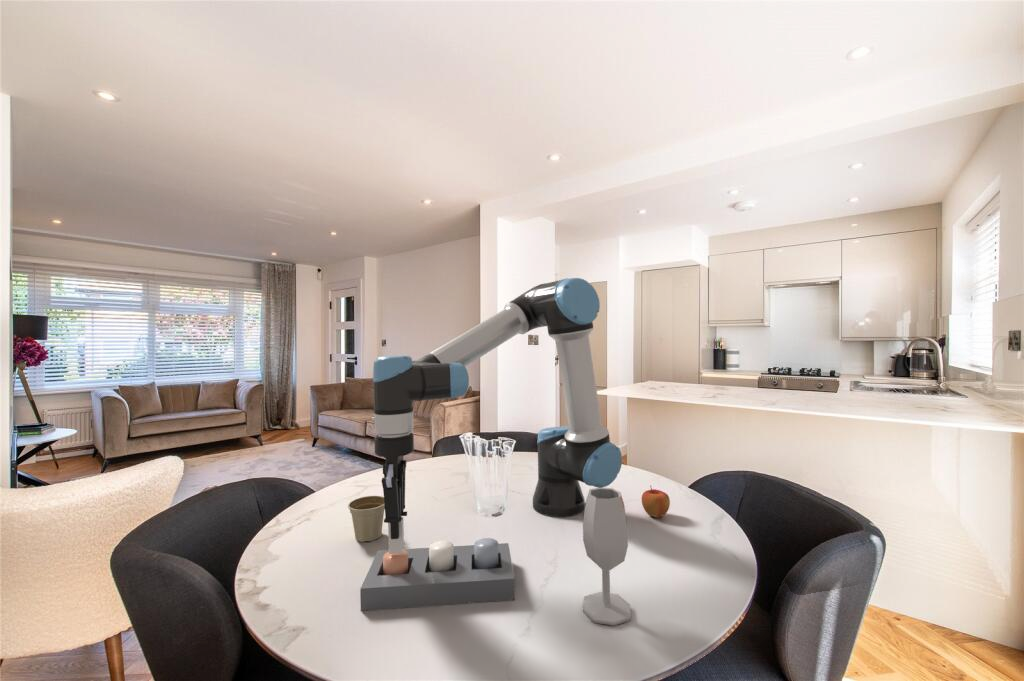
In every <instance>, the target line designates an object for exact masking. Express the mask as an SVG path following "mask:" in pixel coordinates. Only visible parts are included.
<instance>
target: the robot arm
mask: <svg viewBox="0 0 1024 681" xmlns="http://www.w3.org/2000/svg"><path fill="white" fill-rule="evenodd" d="M600 304H601V302H600V297H599V294H598V293H597V291H596V289H595V288H594V286H593V285H592V284H590V283H589V281H587V280H585V279H584V278H580V277H570V278H568V277H567V278H563V279H559V280H555V281H551V282H547V283H546V282H545V283H540V284H538V285H536V286H533V287H532V288H529V290H526V291H525V292H523V293H522V294H520V295H518V296H517V297H516V298H514V299H513V300H511V301H509V302H507V303H506V304H505V305H504V307H503V310H500V311H499V312H497V313H496V314H494V315H493V316H490V317H489V318H487V319H485V320H483V321H482V322H480V323H479V324H477V325H475V326H474V327H472V328H470V329H468V330H467V331H465V332H464V333H461V334H460V335H458V336H456V337H455V338H453V339H451V340H449V341H448V342H446V343H444V344H443V345H440V346H439V347H437V348H436V349H434V350H433V351H430V352H429V353H428V354H426V355H423V357H420V358H419V359H417V360H413V359H412V357H411V355H387V356H386V355H385V356H384V355H383V356H378V357H377V358H375V359H374V361H373V372H372V386H373V387H372V388H373V413H374V414H373V416H374V417H372V418H371V422H372V423H374V425H373V426H374V434H376V435H375V437H373V438H374V454H375V456H377V457H380V458H382V457H383V458H385V464H383V465H382V475H383V477H382V479H381V481H380V482H381V485H382V491H383V492H382V493H383V497H384V505H385V509H384V516H385V517H384V518H383V524H384V523H386V524H387V525H388V527H387V528H388V530H387V531H388V535H387V536H388V550H389V554H402V553H403V551H404V549H405V537H404V536H405V533H404V528H405V527H404V517H408V511H404V510H405V509H406V470H407V460H406V459H404V456H407V455H410V454H412V453H413V451H414V450H415V444H414V440H415V438H414V437H415V436H414V435H415V434H413V431H414V430H415V429H414V428H415V427H414V425H415V424H414V422H415V421H414V402H421V401H433V400H434V401H436V400H446V399H450V400H452V399H454V398H460V397H463V396H465V395H467V393H468V390H469V387H470V386H469V385H470V378H469V373H468V369H467V366H469V365H470V364H472V363H474V362H476V361H477V360H478V359H480V358H482V357H483V356H485V355H486V354H488V353H489V352H491V351H492V350H493V351H494V350H495V349H496V348H497V347H499V346H501V345H503V344H504V343H505V342H507V341H509V340H511V339H512V338H513V337H515V336H516V335H518V334H519V335H525V334H527V333H529V332H530V331H532V330H535V329H537V328H538V329H539V328H542V327H543V328H544V327H547V334H548V337H550V338H552V339H553V340H554V341H555V345H556V353H557V359H558V366H559V372H560V379H561V385H562V391H563V392H562V393H563V396H564V397H563V398H564V403H565V404H564V405H565V411H566V412H565V413H566V417H567V424H568V426H567V425H566V426H565V425H564V426H551V427H546V428H542V429H540V430H539V431H538V432H537V433H538V434H537V442H536V444H537V474H538V476H537V477H538V478H537V482H536V486H535V488H534V489H535V490H534V494H533V495H532V508H533V509H534V511H536V512H537V513H539V514H542V515H545V516H549V517H572V516H575V515H578V514H581V513H582V512H584V511H585V505H586V501H585V496H584V494H583V490H582V487H581V485H580V482H581V483H584V484H585V485H587V486H590V487H594V488H607V487H608V486H610V485H611V484H612V483H613V482H614V481H615V480H616V479H617V477H618V475H619V473H620V471H621V468H622V465H623V456H622V452H621V449H620V448H619V447H618V446H617V445H616V444H615V443H612V442H611V438H610V432H609V429H608V428H606V427H605V426H604V425H603V423H602V418H601V411H600V404H599V398H598V392H597V390H598V389H597V384H596V377H595V369H594V364H593V363H594V362H593V358H592V357H593V356H592V350H591V344H590V337H589V336H590V334H591V332H593V330H594V323H593V322H594V321H595V320H596V319H597V317H598V313H599V312H600V309H601V308H600V307H601V306H600Z"/></svg>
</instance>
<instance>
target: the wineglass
mask: <svg viewBox="0 0 1024 681" xmlns="http://www.w3.org/2000/svg"><path fill="white" fill-rule="evenodd" d="M625 507H626V506H625V502H624V499H623V496H622V493H621V491H620V490H619V491H618V490H617V489H614V488H613V487H602V488H598V487H594V488H590V489H589V490H588V493H587V497H586V501H585V509H584V514H583V515H584V516H583V521H582V522H583V523H582V541H583V547H584V549H585V553H586V556H587V557H588V558H589V559H590V560H592V562H593V563H594V564H595V565H597V567H599V568H600V569H601V573H602V575H601V576H602V578H601V579H602V581H601V582H602V583H601V585H602V586H601V587H602V590H601V591H597V592H594V593H591V594H588V595H585V596H583V602H582V609H581V610H582V612H583V613H584V614H585V615H586V616H587V618H589V619H590V620H591V622H593V623H594V624H600V625H606V626H607V625H608V626H617V625H621V624H623V623H626V622H629V621H631V619H632V615H631V613H632V612H631V604H630V603H629V602H628V601H627V600H626V599H624V598H623V597H622V596H621V595H619V594H618V593H611V582H610V581H611V577H610V576H611V575H610V573H611V572H610V571H612V570H613V569H614V568H616V567H618V566H619V565H620V564H621V565H622V563H624V562H625V559H626V556H627V552H628V546H629V536H628V532H629V530H628V519H627V513H626V508H625Z"/></svg>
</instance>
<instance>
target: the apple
mask: <svg viewBox="0 0 1024 681" xmlns="http://www.w3.org/2000/svg"><path fill="white" fill-rule="evenodd" d="M649 487H650V489H648V490H645V491H644V492H643V493H642V495H641V504H642V508H643V509H644V511H645V512H646V513H647V515H649V516H650V517H651V516H652V517H655V518H656V519H659V518H661V517H662V516H665V515H666V514H667V513H668V511H669V509H670V506H671V505H670V504H671V500H670V497H669V495H668V494H667V493H666V492H664V491H662V490H660V489H656V488H655V489H653V488H652V485H649Z"/></svg>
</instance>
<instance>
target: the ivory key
mask: <svg viewBox="0 0 1024 681" xmlns="http://www.w3.org/2000/svg"><path fill="white" fill-rule="evenodd" d="M453 546H454V543H453V542H452V541H449V540H438V541H434V542H432V543H431V544H430V545H429V547H428V548H429V568H430V570H431V571H433V572H444V571H449V570H451V569H452V568H453V566H454V553H453Z"/></svg>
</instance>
